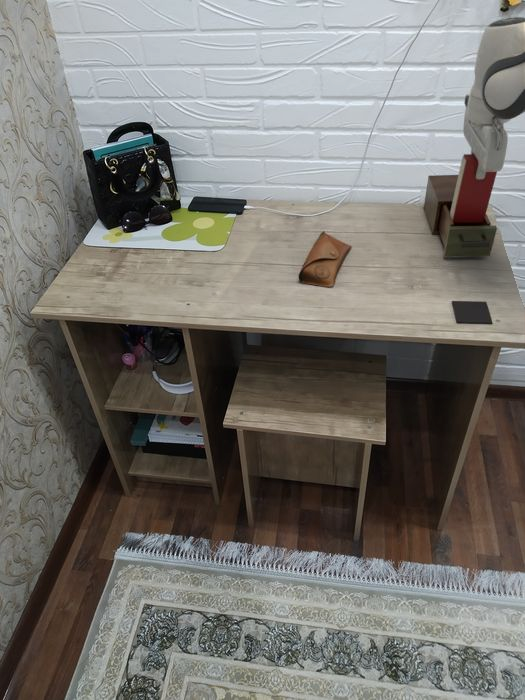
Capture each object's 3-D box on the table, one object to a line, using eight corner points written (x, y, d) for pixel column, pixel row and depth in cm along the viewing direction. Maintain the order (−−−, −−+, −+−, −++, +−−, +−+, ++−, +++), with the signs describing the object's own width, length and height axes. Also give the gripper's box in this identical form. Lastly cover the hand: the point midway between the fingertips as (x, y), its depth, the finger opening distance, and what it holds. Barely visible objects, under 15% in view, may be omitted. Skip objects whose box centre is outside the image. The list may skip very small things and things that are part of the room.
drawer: (494, 266, 129) (502, 238, 124) (447, 267, 129) (453, 239, 124) (477, 227, 141) (483, 201, 136) (434, 228, 142) (439, 202, 137)
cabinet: (480, 233, 141) (488, 200, 134) (432, 234, 141) (438, 201, 135) (468, 206, 151) (475, 174, 144) (423, 207, 151) (428, 175, 145)
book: (480, 215, 133) (496, 154, 123) (483, 222, 131) (500, 160, 121) (449, 215, 134) (462, 154, 123) (451, 222, 131) (465, 160, 121)
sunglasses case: (335, 286, 126) (320, 262, 124) (308, 295, 131) (294, 272, 128) (353, 244, 139) (340, 222, 136) (328, 253, 143) (315, 232, 140)
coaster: (485, 303, 121) (486, 301, 120) (492, 324, 115) (492, 322, 115) (451, 302, 121) (452, 300, 121) (456, 323, 116) (457, 321, 116)
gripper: (521, 127, 107) (504, 195, 117) (493, 91, 123) (480, 153, 132) (486, 128, 108) (472, 196, 117) (463, 92, 123) (452, 154, 132)
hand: (476, 173), depth 125 cm, fingers closed on book, 3 cm apart
